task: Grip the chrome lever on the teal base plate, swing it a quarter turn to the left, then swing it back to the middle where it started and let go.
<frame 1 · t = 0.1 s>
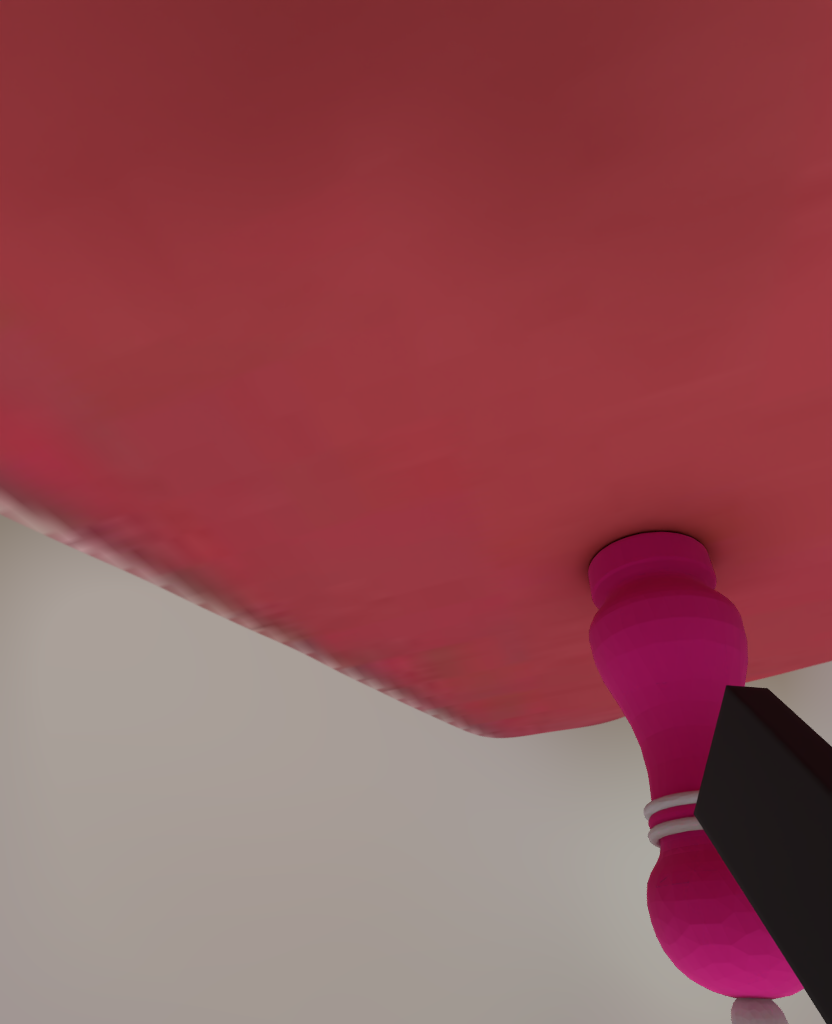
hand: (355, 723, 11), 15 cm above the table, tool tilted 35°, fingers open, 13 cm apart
pepper mill: (645, 562, 33), on the table
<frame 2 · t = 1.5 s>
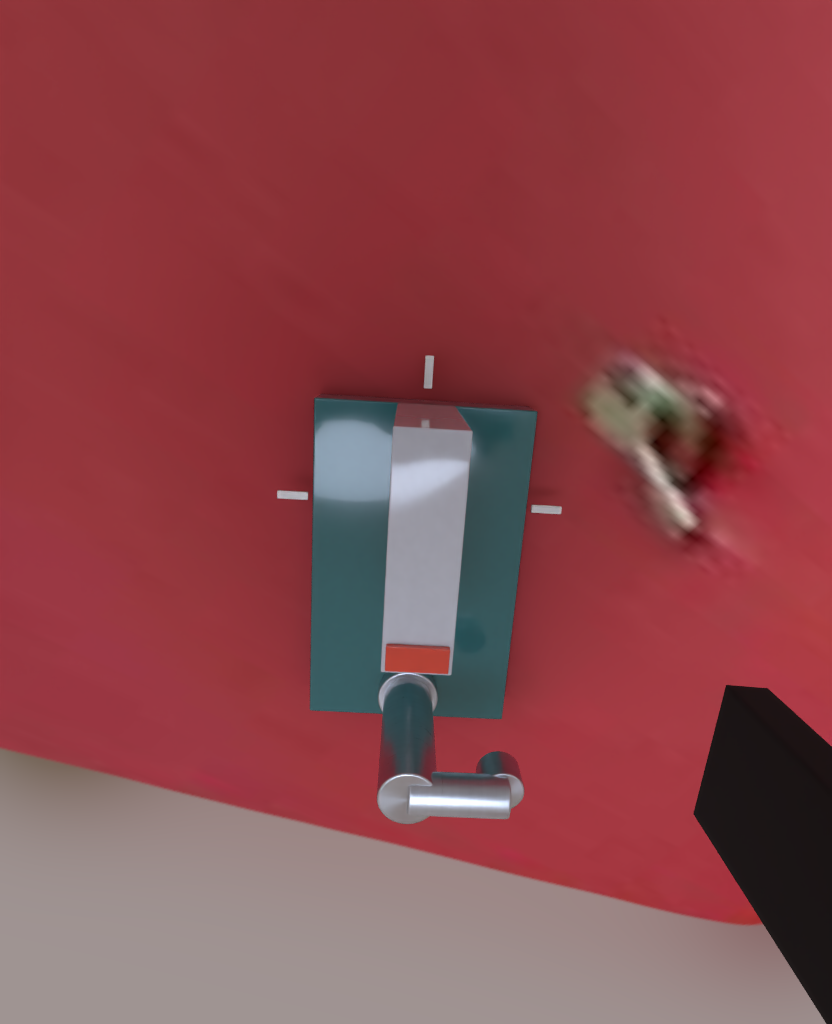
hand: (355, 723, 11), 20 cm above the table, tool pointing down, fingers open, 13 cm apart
tap lever: (421, 527, 24), point 6 cm above the table, hinge at 0.0°
spout: (407, 669, 33), resting on teal base plate
teal base plate: (415, 557, 31), on the table
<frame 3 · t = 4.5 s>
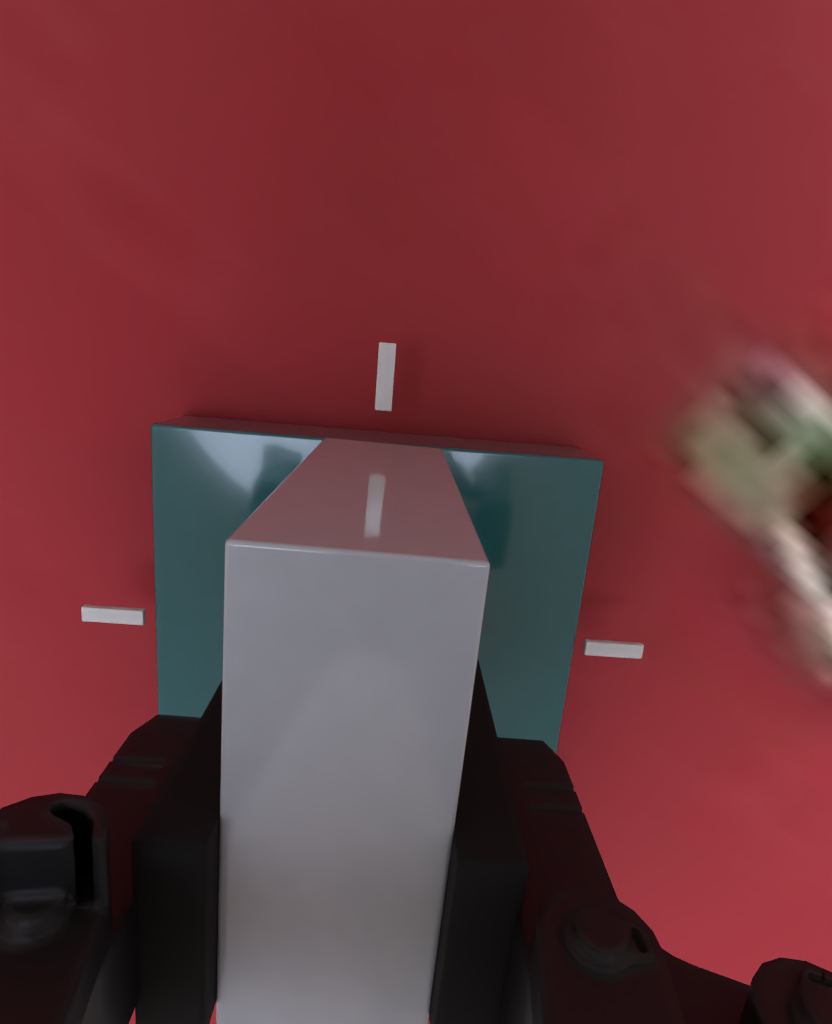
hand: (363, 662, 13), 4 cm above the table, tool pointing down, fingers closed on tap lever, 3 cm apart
tap lever: (354, 730, 10), point 6 cm above the table, hinge at -0.8°, touching gripper
teal base plate: (364, 712, 17), on the table
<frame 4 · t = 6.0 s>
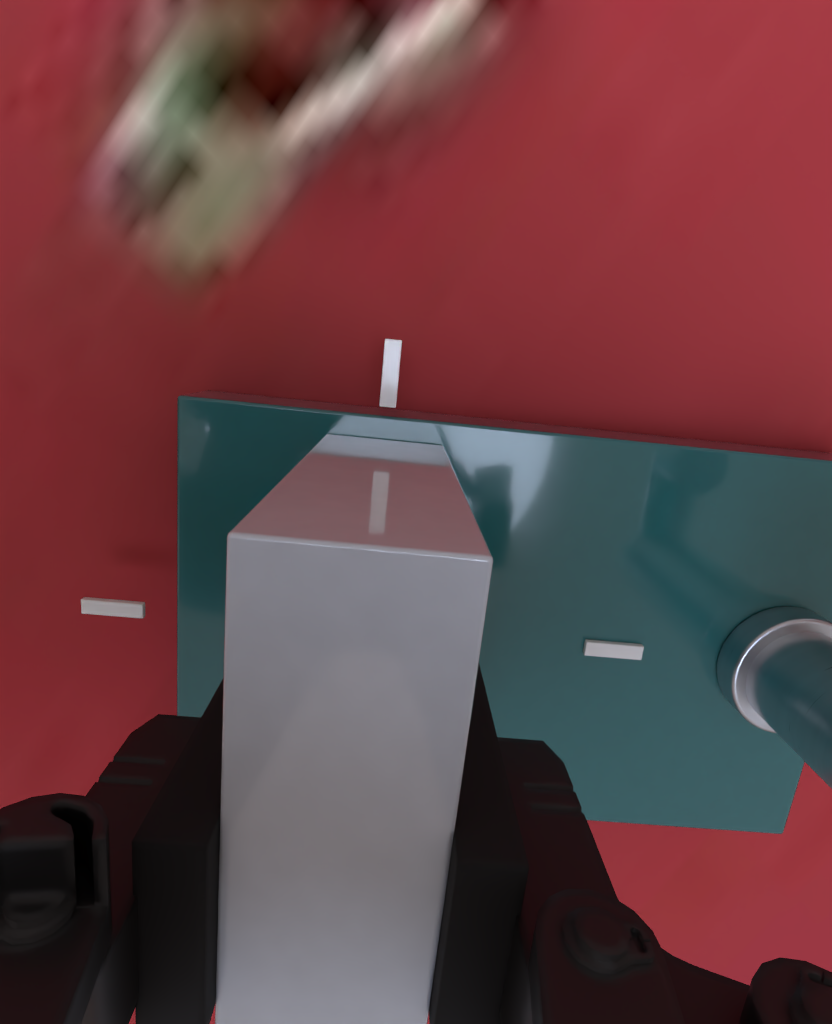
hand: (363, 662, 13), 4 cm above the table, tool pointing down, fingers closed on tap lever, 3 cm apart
tap lever: (355, 726, 10), point 6 cm above the table, hinge at -90.1°, touching gripper
spout: (732, 626, 17), resting on teal base plate
teal base plate: (500, 606, 16), on the table
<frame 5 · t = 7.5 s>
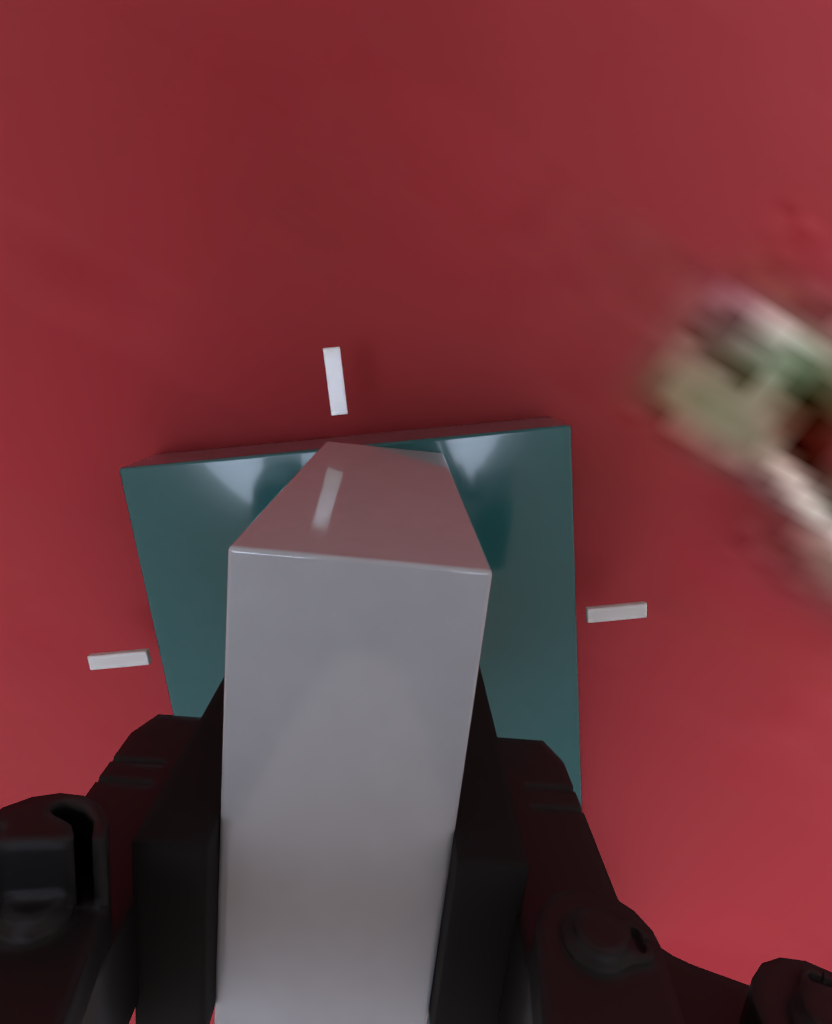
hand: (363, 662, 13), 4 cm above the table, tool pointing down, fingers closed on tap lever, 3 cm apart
tap lever: (354, 734, 10), point 6 cm above the table, hinge at -11.1°, touching gripper
teal base plate: (385, 714, 17), on the table
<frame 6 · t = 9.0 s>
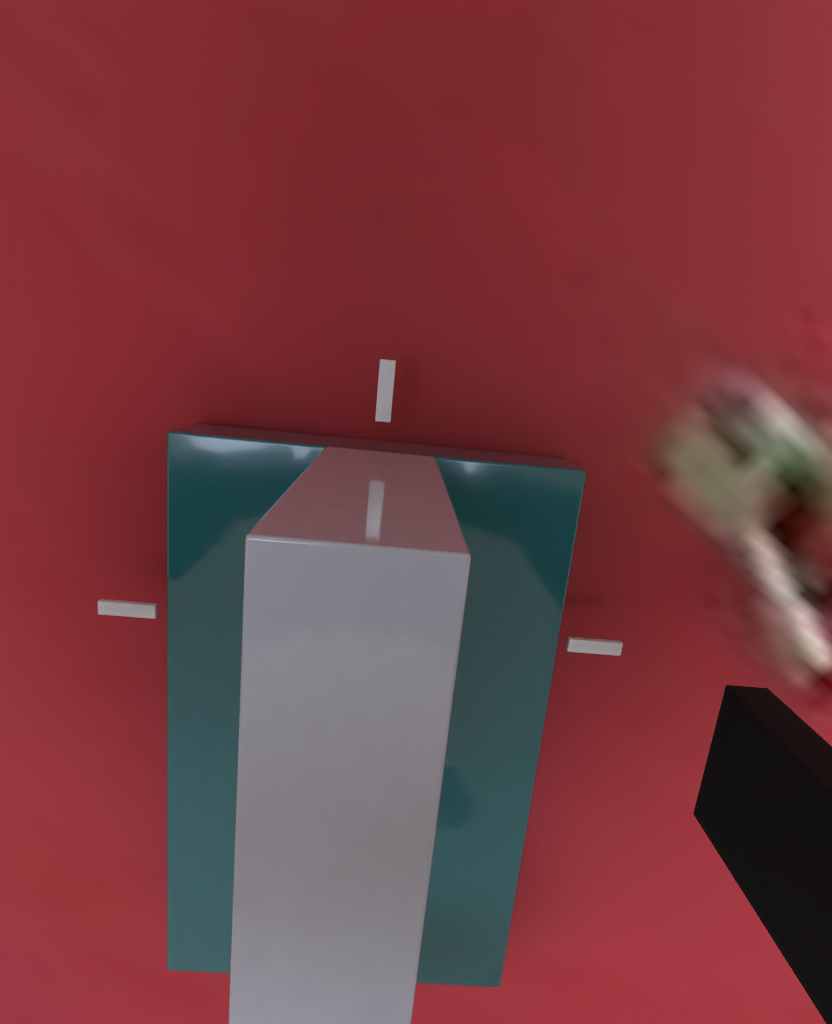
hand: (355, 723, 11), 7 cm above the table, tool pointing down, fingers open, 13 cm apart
tap lever: (353, 714, 11), point 6 cm above the table, hinge at -0.2°
teal base plate: (360, 705, 18), on the table
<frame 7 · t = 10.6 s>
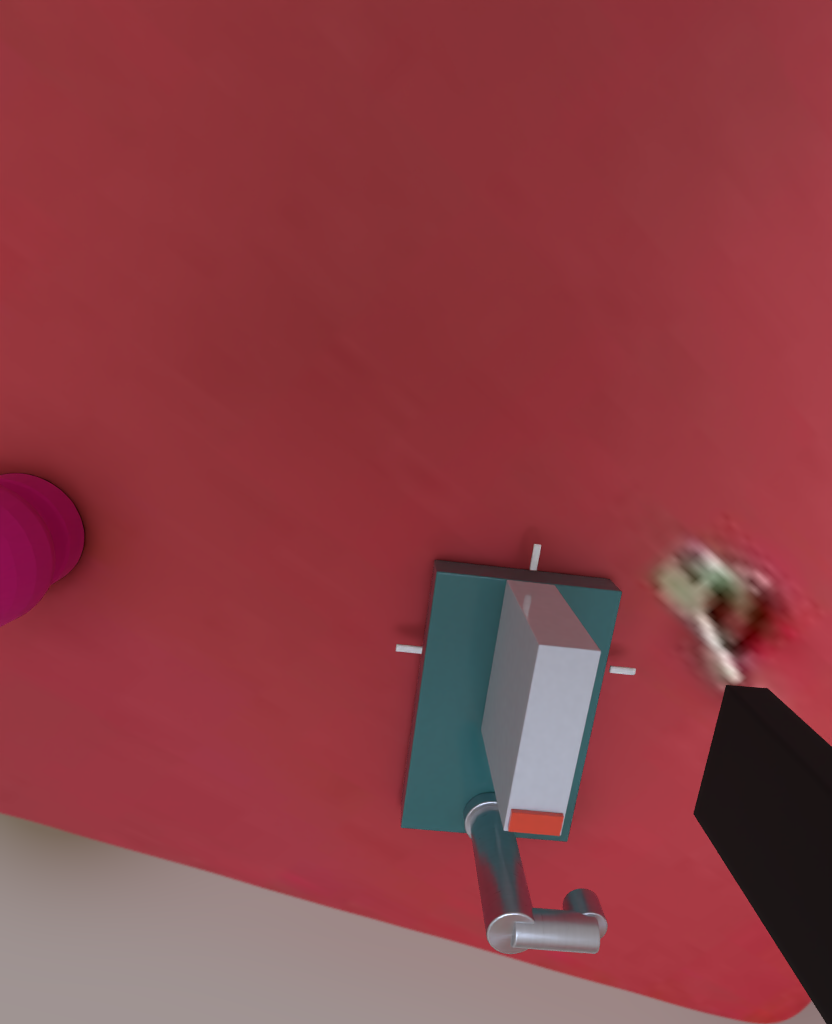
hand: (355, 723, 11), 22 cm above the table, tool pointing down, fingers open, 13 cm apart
pepper mill: (28, 528, 32), on the table
tap lever: (532, 698, 29), point 6 cm above the table, hinge at -0.2°
spout: (484, 790, 37), resting on teal base plate
teal base plate: (500, 696, 35), on the table
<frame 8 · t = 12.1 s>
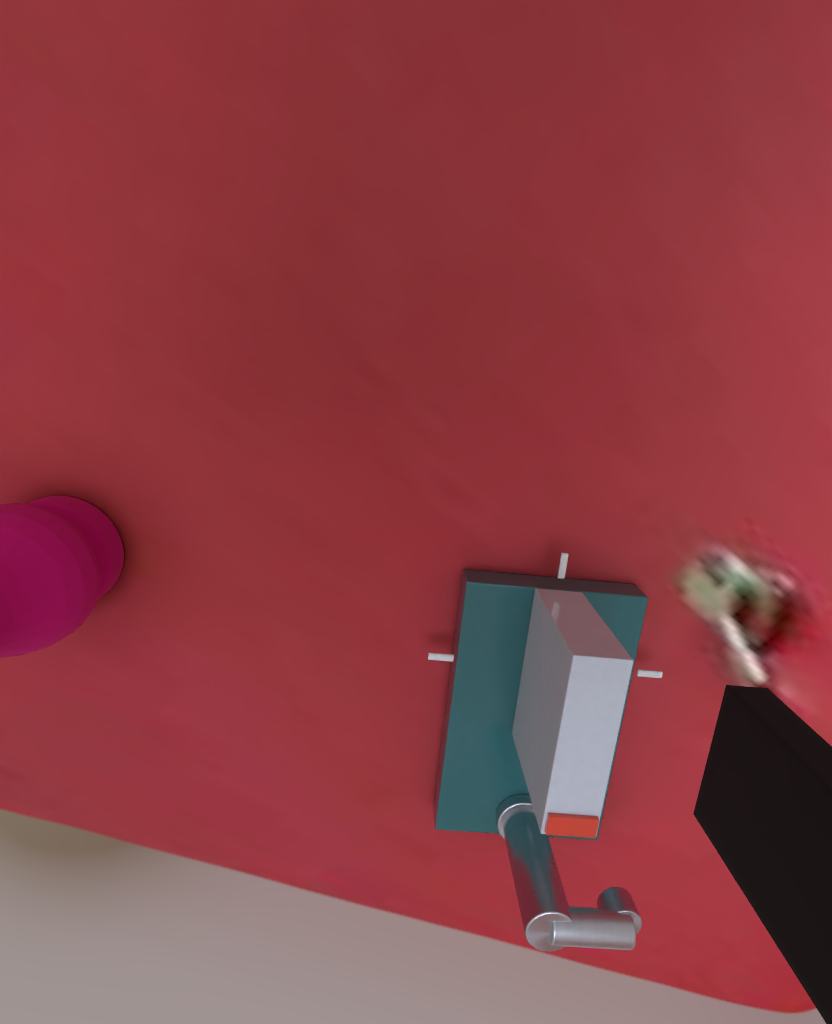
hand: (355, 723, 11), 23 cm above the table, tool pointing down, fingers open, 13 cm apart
pepper mill: (70, 548, 33), on the table
tap lever: (563, 704, 30), point 6 cm above the table, hinge at -0.2°
spout: (514, 791, 38), resting on teal base plate
teal base plate: (529, 700, 36), on the table
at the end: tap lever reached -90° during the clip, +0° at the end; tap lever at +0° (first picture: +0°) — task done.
